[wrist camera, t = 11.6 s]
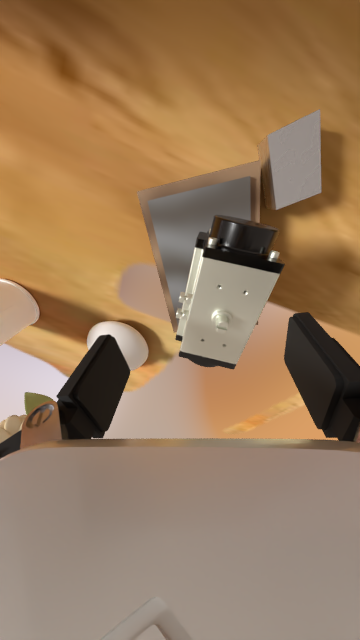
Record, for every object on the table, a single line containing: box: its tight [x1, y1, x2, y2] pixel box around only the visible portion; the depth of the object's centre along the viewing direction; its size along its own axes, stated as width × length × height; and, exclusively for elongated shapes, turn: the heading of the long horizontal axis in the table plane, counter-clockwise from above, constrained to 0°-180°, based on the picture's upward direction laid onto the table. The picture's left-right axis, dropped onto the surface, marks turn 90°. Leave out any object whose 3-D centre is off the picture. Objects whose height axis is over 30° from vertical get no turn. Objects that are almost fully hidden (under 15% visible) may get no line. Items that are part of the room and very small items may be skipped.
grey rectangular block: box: [257, 109, 321, 210], centre depth 19 cm, size 6×4×4 cm, turn 21°
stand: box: [137, 160, 261, 332], centre depth 25 cm, size 18×12×5 cm, turn 11°
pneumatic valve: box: [176, 215, 285, 369], centre depth 17 cm, size 6×12×12 cm, turn 170°
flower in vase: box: [0, 321, 149, 443], centre depth 26 cm, size 13×11×25 cm
